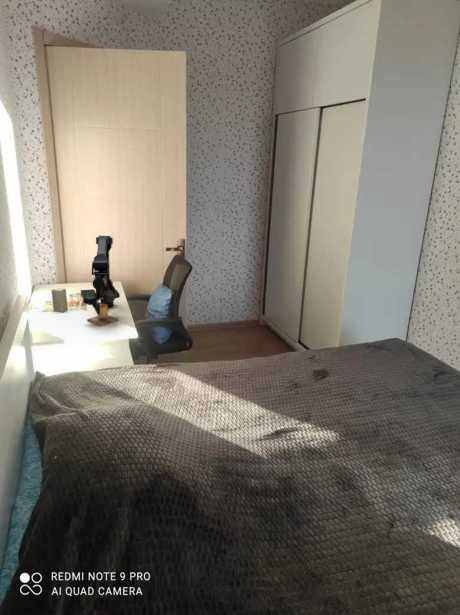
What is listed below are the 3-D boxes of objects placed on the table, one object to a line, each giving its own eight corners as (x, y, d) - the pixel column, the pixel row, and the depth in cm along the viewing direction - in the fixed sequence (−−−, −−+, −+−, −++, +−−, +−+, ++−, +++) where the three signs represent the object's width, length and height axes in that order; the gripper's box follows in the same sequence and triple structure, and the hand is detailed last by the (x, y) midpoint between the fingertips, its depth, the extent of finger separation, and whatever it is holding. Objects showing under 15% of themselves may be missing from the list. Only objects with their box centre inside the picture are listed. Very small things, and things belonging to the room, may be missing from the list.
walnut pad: (104, 315, 242) (104, 313, 242) (118, 320, 236) (118, 318, 236) (87, 321, 234) (87, 319, 234) (101, 326, 228) (101, 324, 228)
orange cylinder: (103, 314, 238) (103, 303, 236) (109, 316, 235) (109, 305, 233) (95, 316, 234) (95, 305, 232) (102, 318, 231) (101, 307, 229)
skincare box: (68, 310, 248) (66, 288, 245) (63, 312, 244) (61, 290, 241) (57, 308, 250) (56, 287, 246) (52, 310, 246) (51, 289, 242)
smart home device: (83, 299, 263) (80, 289, 280) (83, 302, 264) (80, 292, 281) (98, 298, 266) (94, 289, 284) (98, 301, 267) (94, 291, 284)
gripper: (96, 291, 217) (98, 321, 222) (126, 283, 232) (127, 312, 237) (81, 286, 223) (83, 316, 228) (111, 279, 238) (112, 307, 243)
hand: (102, 313), depth 234 cm, fingers closed on orange cylinder, 5 cm apart
